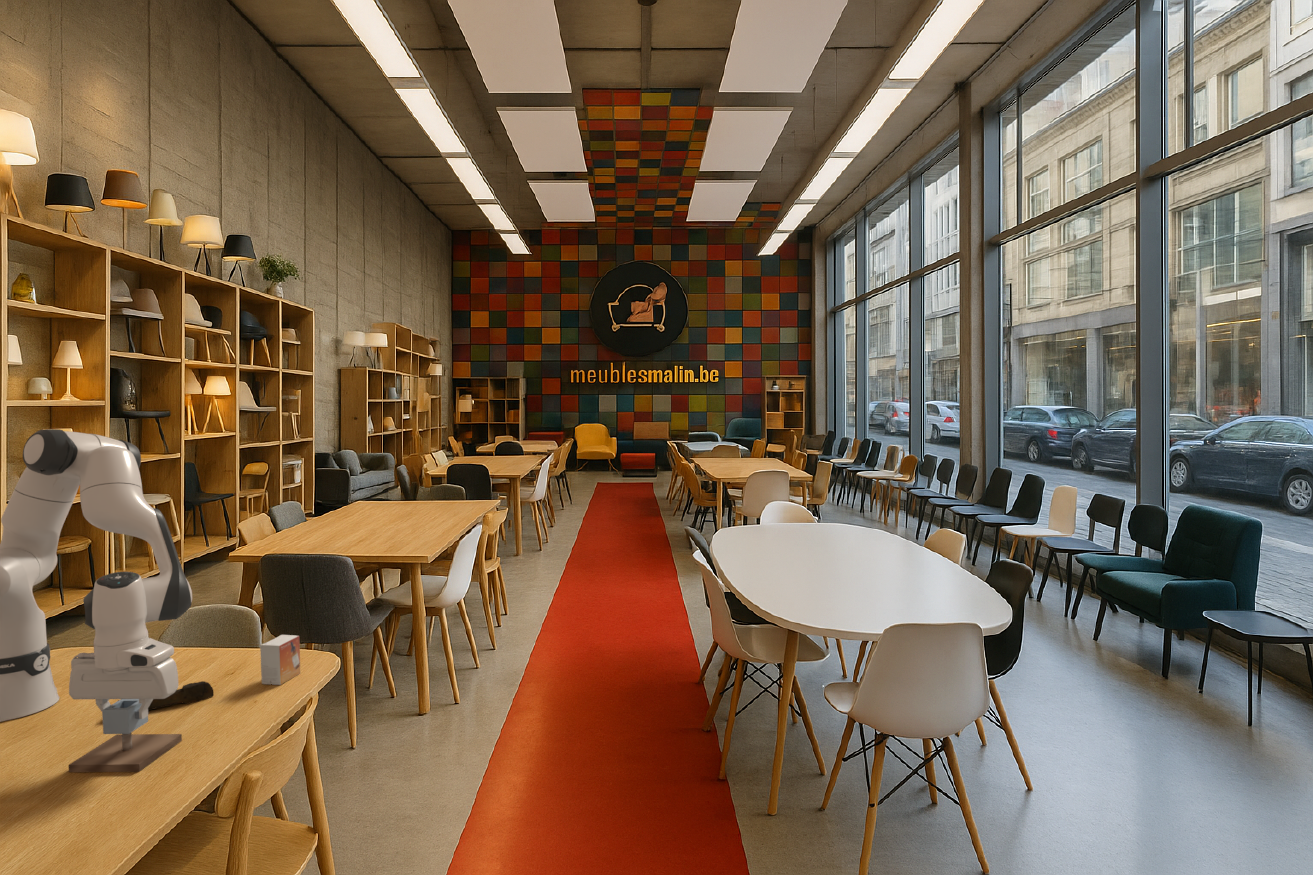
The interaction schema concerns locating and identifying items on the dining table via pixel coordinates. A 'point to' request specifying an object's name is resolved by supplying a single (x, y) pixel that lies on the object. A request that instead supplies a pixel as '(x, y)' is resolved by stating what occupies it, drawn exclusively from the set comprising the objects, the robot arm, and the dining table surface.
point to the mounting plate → (125, 753)
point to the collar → (122, 717)
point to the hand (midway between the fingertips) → (125, 717)
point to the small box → (280, 659)
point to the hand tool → (185, 695)
